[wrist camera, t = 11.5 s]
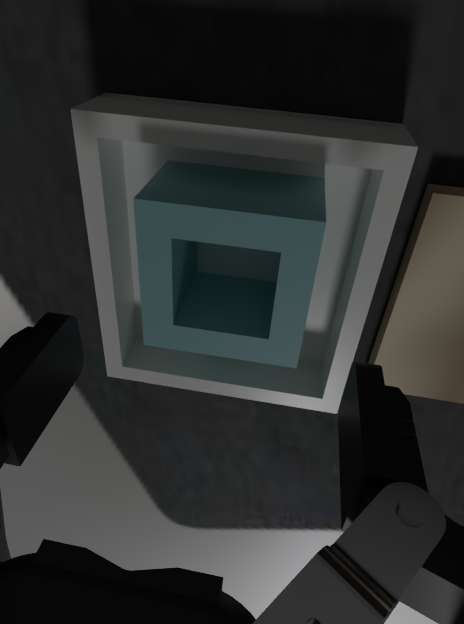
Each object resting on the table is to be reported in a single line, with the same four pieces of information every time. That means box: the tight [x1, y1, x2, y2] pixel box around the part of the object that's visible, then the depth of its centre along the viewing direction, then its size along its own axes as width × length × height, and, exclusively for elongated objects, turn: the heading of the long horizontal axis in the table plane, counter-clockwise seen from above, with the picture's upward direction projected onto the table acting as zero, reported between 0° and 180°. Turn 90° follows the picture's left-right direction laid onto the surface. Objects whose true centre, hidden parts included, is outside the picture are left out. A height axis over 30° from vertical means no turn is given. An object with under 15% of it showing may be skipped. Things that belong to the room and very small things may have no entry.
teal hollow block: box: [133, 160, 326, 368], centre depth 18 cm, size 6×8×4 cm
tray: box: [71, 93, 418, 414], centre depth 19 cm, size 11×12×3 cm
